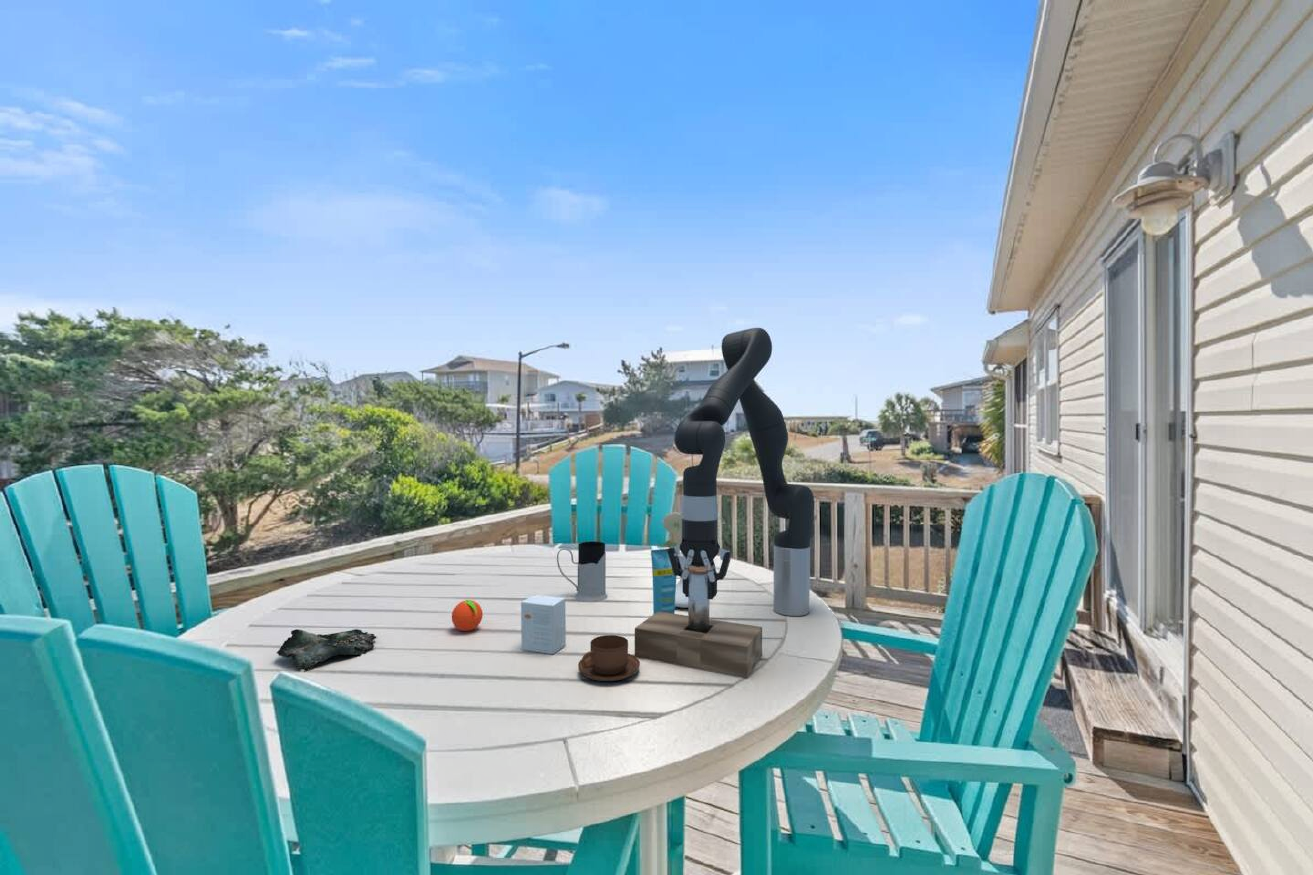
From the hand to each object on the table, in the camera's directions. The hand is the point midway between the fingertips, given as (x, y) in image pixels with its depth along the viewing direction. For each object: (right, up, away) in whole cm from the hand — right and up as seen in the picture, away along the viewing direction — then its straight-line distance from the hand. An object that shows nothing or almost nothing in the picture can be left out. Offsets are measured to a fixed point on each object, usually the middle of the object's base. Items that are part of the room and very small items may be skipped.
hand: (699, 596), depth 119 cm
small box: (-34, -12, +4) cm, 36 cm away
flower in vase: (-2, -12, +35) cm, 37 cm away
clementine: (-53, -12, +14) cm, 56 cm away
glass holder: (-30, -12, +41) cm, 52 cm away
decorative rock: (-78, -12, +1) cm, 79 cm away
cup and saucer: (-18, -13, -8) cm, 24 cm away
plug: (0, -7, 0) cm, 7 cm away
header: (0, -12, 0) cm, 12 cm away
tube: (-7, -12, +16) cm, 21 cm away
